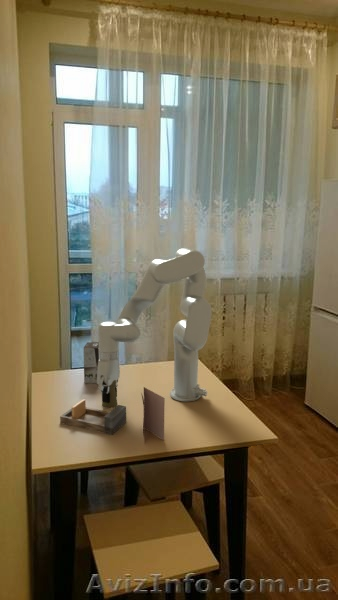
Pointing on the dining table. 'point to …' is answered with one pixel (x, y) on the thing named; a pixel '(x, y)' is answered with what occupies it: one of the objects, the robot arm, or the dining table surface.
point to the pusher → (79, 409)
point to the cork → (111, 396)
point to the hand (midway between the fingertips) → (109, 399)
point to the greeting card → (153, 413)
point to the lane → (97, 419)
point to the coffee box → (91, 362)
